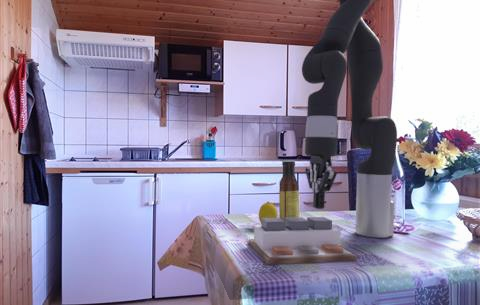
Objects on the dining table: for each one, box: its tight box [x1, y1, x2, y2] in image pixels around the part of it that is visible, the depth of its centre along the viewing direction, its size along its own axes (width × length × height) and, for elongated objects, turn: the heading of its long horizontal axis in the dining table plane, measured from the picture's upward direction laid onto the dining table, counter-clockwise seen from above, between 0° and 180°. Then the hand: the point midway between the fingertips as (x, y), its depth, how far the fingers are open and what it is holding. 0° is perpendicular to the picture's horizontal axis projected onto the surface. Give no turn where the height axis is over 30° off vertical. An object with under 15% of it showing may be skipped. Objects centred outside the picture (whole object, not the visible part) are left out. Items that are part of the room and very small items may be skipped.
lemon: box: [258, 201, 279, 223], centre depth 103 cm, size 6×6×8 cm
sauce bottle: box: [278, 160, 300, 221], centre depth 112 cm, size 7×6×20 cm
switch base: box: [248, 238, 358, 266], centre depth 81 cm, size 20×16×2 cm
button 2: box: [285, 216, 309, 230], centre depth 83 cm, size 4×4×4 cm
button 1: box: [306, 216, 333, 230], centre depth 84 cm, size 4×4×4 cm
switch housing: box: [253, 224, 342, 251], centre depth 83 cm, size 19×8×4 cm, turn 102°
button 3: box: [260, 217, 285, 231], centre depth 81 cm, size 4×4×4 cm
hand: (318, 208), depth 84 cm, fingers closed
